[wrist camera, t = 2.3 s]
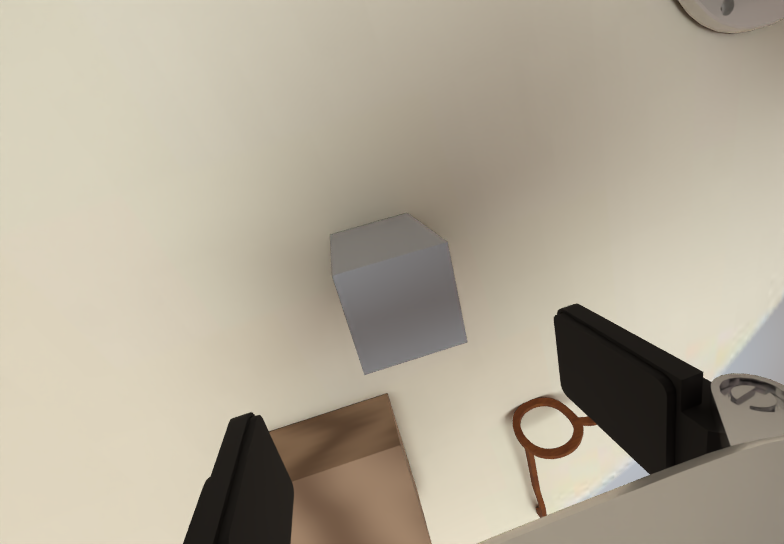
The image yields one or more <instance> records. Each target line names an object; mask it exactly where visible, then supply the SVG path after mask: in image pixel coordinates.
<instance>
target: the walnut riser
mask: <svg viewBox="0 0 784 544" xmlns="http://www.w3.org/2000/svg"><path fill="white" fill-rule="evenodd" d="M269 433H270V435H271V437H272V440H273V442H274V444H275V446H276V448H277V450H278V453H279V455H280V457H281V459H282V461H283V463H284V466H285V468H286V470H287V472H288V474H289V476H290V478H291V481H292V484H293V488H294V504H293V518H292V531H291V544H432V543H431V540H430V536H429V532H428V529H427V525H426V521H425V517H424V514H423V510H422V506H421V503H420V499H419V495H418V492H417V488H416V485H415V481H414V478H413V475H412V472H411V468H410V465H409V462H408V459H407V455H406V452H405V449H404V446H403V443H402V439H401V436H400V433H399V430H398V426H397V423H396V420H395V417H394V413H393V410H392V407H391V404H390V400H389V397H388V394H384V395H381V396H378V397H375V398H372V399H369V400H366V401H363V402H360V403H356V404H353V405H350V406H347V407H344V408H341V409H338V410H335V411H332V412H329V413H326V414H323V415H319V416H316V417H313V418H310V419H307V420H304V421H301V422H298V423H295V424H292V425H289V426H286V427H283V428H279V429H276V430H273V431H270V432H269Z"/></svg>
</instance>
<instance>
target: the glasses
mask: <svg viewBox="0 0 784 544" xmlns="http://www.w3.org/2000/svg"><path fill="white" fill-rule="evenodd" d="M540 406H548V407H553V408H555V409H557V410H559V411H560V412H562V413H563V414H564V415H565V416H566V417H567V418H568V419H569V420H570V422H571V423H572V425H573V428H574V432H573V435H572V438H571V439H570V440H569V441H568V442H567V443H566V444H564V445H563V446H561V447H558V448H553V449H544V448H540V447H538V446H536V445H534V444H533V443H531V442H530V441H529V440H528V439H527V438H526V437H525V435H524V434H523V432H522V430H521V426H520V423H521V419H522V417H523V416H524V414H525V413H526V412H528V411H529V410H531V409H533V408H536V407H540ZM512 421H513V429H514V432H515V435H516V437H517V439H518V441H519V442H520V444H521V445H522V446H523V447H524V448H525V452H526V457H527V462H528V467H529V472H530V477H531V482H532V486H533V489H534V492H535V495H536V498H537V501H538V504H539V507H537V508H536V510H537V514H538V515H539V517H540V518H542V517H544V516H547V514H546V508H545V504H544V501H543V498H542V495H541V492H540V487H539V481H538V476H537V470H536V464H535V459H534V455H535V456H537V457H540V458H544V459H557V458H561V457H564V456H567V455H569V454H570V453H572V452H573V451H574V450H576V449H577V447H578V446H579V445H580V443H581V440H582V437H583V426H594V425H597V424H596V423H595V422H594V421H593V420H592V419H591V418H590V417H577V416H576V415H575V414H574V413H573V411H571V410H570V409H569V408H568V407H567V406H566V405H564V404H563V403H561V402H560V401H558V400H555V399H553V398H535V399H532V400H530V401H528V402H525V403H523V404H522V405H521V406H519V407H518V409H517V410H516V411H515V413H514V415H513V420H512Z"/></svg>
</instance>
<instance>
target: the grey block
mask: <svg viewBox="0 0 784 544" xmlns="http://www.w3.org/2000/svg"><path fill="white" fill-rule="evenodd" d="M330 245H331V266H332V277H333V280H334V283H335V286H336V289H337V293H338V296H339V299H340V302H341V305H342V308H343V311H344V314H345V317H346V320H347V323H348V326H349V329H350V332H351V335H352V338H353V341H354V344H355V347H356V350H357V354H358V357H359V360H360V363H361V366H362V369H363V372H364V375H366V374H369V373H373V372H376V371H379V370H382V369H385V368H388V367H391V366H394V365H398V364H401V363H404V362H407V361H410V360H413V359H416V358H420V357H423V356H426V355H429V354H432V353H435V352H438V351H442V350H445V349H448V348H451V347H454V346H457V345H460V344H464V343H467V337H466V332H465V327H464V322H463V317H462V312H461V307H460V302H459V297H458V292H457V287H456V282H455V277H454V272H453V267H452V262H451V257H450V252H449V247H448V242H447V241H446V240H444V239H443V238H442V237H440V236H439V235H437V234H436V233H435V232H433V231H432V230H431V229H429V228H428V227H426V226H425V225H424V224H422V223H421V222H419V221H418V220H417V219H415V218H414V217H413V216H411V215H410V214H408V213H404V214H401V215H397V216H394V217H390V218H387V219H383V220H380V221H376V222H373V223H369V224H366V225H362V226H358V227H355V228H351V229H348V230H344V231H341V232H337V233H334V234H330Z"/></svg>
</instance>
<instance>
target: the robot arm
mask: <svg viewBox="0 0 784 544" xmlns="http://www.w3.org/2000/svg"><path fill="white" fill-rule="evenodd" d="M678 1H679V3H680V4H681V5H682V7H683V8H684V9H685V11H686V12H687V13H688V15H690V16H691V17H692V18H693V19H695V20H696V21H697V22H698V23H700V24H701V25H703V26H705V27H707V28H710V29H712V30H714V31H717V32H725V33H739V32H747V31H751V30H755V29H758V28H761V27H764V26H768V25H771V24H774V23H776V22H778V21H780V20H782V19H784V0H678ZM554 326H555V335H556V345H557V354H558V363H559V373H560V382H561V387H562V389H563V391H564V393H565V394H566V396H567V397H568V398H569V399H570V400H571V401H573V402H574V403H575V404H576V405H577V406H578V407H579V408H580V409H581V410H582V411H583V412H584V413H585V414H586V415H587V416H588V417H590V418H591V419H592V420H593V421H594V422H595V423H596V424H597V425H598V426H599V427H600V428H601V429H602V430H603V431H604V432H605V433H607V434H608V435H609V436H610V437H611V438H612V439H613V440H614V441H615V442H616V443H617V444H618V445H619V446H620V447H621V448H622V449H623V450H625V451H626V452H627V453H628V454H629V455H630V456H631V457H632V458H633V459H634V460H635V461H636V462H637V463H638V464H640V466H642V467H643V468H644V469H645V470H646V471H647V472H648V473H649V474H650V475H649V476H646V477H643V478H641V479H638V480H636V481H633V482H631V483H628V484H626V485H623V486H620V487H618V488H615V489H613V490H611V491H608V492H605V493H603V494H600V495H597V496H595V497H592V498H590V499H587V500H585V501H582V502H580V503H577V504H575V505H572V506H569V507H567V508H564V509H562V510H559V511H557V512H554V513H552V514H549V515H547V516H544V517H542V518H539V519H537V520H534V521H532V522H529V523H527V524H524V525H522V526H519V527H517V528H514V529H512V530H509V531H507V532H504V533H502V534H499V535H497V536H494V537H492V538H489V539H487V540H484V541H482V542H479V543H477V544H784V385H782V384H780V383H778V382H775V381H773V380H771V379H767V378H764V377H760V376H756V375H750V374H734V373H733V374H732V373H731V374H726V375H721V376H719V377H717V378H715V379H714V380H713V381H712V382H710V381H709V380H707V379H705V378H703V372H702V371H700V370H699V369H697V368H695V367H693V366H691V365H689V364H688V363H686V362H684V361H682V360H680V359H678V358H677V357H675V356H673V355H671V354H669V353H667V352H666V351H664V350H662V349H660V348H658V347H656V346H655V345H653V344H651V343H649V342H647V341H646V340H644V339H642V338H640V337H638V336H636V335H635V334H633V333H631V332H629V331H627V330H625V329H624V328H622V327H620V326H618V325H616V324H614V323H613V322H611V321H609V320H607V319H605V318H603V317H602V316H600V315H598V314H596V313H594V312H592V311H591V310H589V309H587V308H585V307H583V306H581V305H579V304H573V305H570V306H567V307H564V308H561V309H559V310H558V312H557V315H555V316H554ZM293 504H294V488H293V484H292V481H291V478H290V476H289V474H288V472H287V470H286V468H285V466H284V463H283V461H282V459H281V457H280V455H279V453H278V450H277V448H276V446H275V444H274V442H273V440H272V437H271V435H270V433H269V431H268V429H267V427H266V425H265V422H264V420H263V418H262V417H261V416H260V415H257V416H255V415H254V414H253V413H252V412H250V413H247V414H244V415H241V416H238V417H235V418H232V419H231V420H230V422H229V424H228V427H227V430H226V433H225V436H224V439H223V442H222V445H221V448H220V450H219V453H218V456H217V459H216V462H215V465H214V468H213V471H212V474H211V477H209V478H208V479H207V480H206V482H205V484H204V486H203V489H202V492H201V494H200V497H199V500H198V503H197V506H196V508H195V511H194V514H193V517H192V520H191V523H190V525H189V528H188V531H187V534H186V537H185V540H184V542H183V544H291V531H292V518H293Z"/></svg>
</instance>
